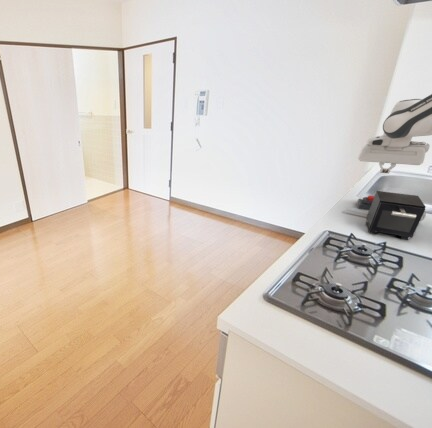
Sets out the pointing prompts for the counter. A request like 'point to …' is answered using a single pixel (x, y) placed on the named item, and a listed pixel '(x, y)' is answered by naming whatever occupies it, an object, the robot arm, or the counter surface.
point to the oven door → (397, 219)
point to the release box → (364, 203)
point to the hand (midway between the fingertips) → (384, 172)
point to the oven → (394, 199)
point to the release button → (370, 198)
